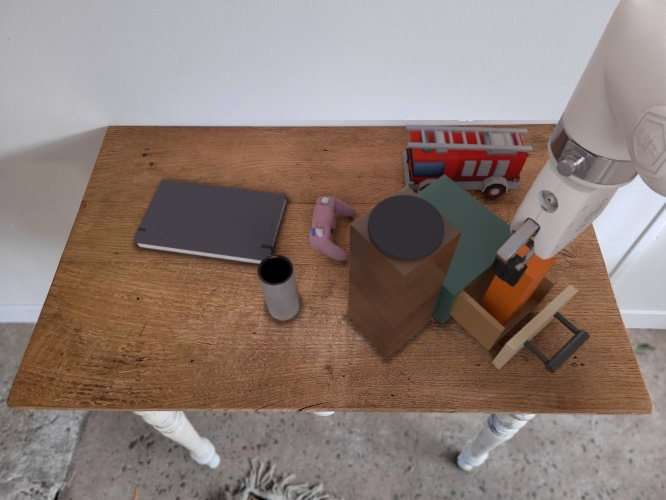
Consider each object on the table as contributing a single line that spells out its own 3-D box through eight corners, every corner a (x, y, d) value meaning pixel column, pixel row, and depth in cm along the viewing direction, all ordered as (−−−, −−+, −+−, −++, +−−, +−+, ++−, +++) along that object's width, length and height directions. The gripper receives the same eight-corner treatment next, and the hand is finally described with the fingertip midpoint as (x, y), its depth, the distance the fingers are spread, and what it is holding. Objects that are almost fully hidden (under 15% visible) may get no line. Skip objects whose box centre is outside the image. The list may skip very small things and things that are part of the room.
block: (520, 310, 66) (556, 259, 55) (501, 327, 64) (533, 279, 53) (497, 290, 67) (527, 237, 56) (478, 306, 66) (505, 255, 55)
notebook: (287, 200, 79) (164, 185, 81) (286, 194, 78) (161, 179, 80) (268, 266, 72) (135, 247, 75) (267, 260, 71) (131, 241, 73)
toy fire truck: (398, 159, 84) (404, 115, 75) (507, 158, 83) (525, 113, 75) (402, 200, 79) (409, 157, 70) (518, 199, 78) (539, 155, 70)
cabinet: (506, 270, 71) (525, 237, 64) (442, 324, 67) (454, 295, 60) (435, 210, 78) (444, 173, 70) (371, 256, 73) (374, 222, 66)
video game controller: (332, 215, 79) (311, 189, 74) (357, 210, 77) (337, 183, 72) (323, 267, 74) (299, 242, 69) (349, 263, 72) (327, 237, 67)
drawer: (587, 338, 64) (611, 316, 59) (528, 398, 60) (547, 380, 55) (483, 250, 72) (495, 223, 66) (424, 297, 68) (431, 273, 62)
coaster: (459, 231, 48) (460, 228, 48) (404, 273, 46) (405, 270, 45) (406, 187, 52) (407, 183, 51) (352, 224, 49) (352, 220, 49)
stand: (429, 323, 67) (462, 231, 48) (386, 358, 64) (404, 276, 46) (389, 284, 70) (406, 185, 52) (347, 316, 68) (349, 223, 49)
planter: (304, 314, 68) (298, 278, 59) (273, 325, 67) (262, 290, 59) (294, 288, 70) (287, 249, 62) (264, 297, 69) (252, 260, 61)
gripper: (575, 226, 36) (507, 321, 50) (698, 120, 41) (605, 232, 56) (495, 167, 39) (453, 272, 53) (620, 76, 44) (552, 193, 59)
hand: (531, 252), depth 54 cm, fingers open, 9 cm apart
